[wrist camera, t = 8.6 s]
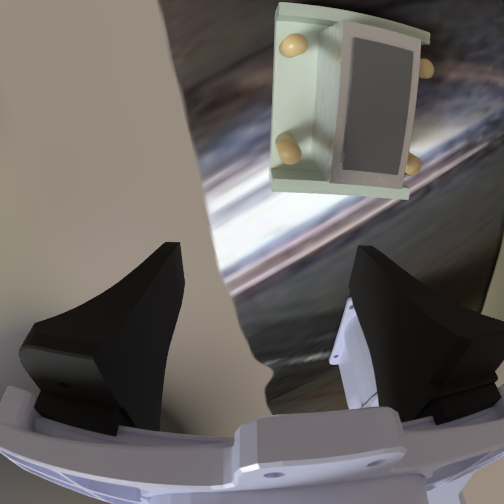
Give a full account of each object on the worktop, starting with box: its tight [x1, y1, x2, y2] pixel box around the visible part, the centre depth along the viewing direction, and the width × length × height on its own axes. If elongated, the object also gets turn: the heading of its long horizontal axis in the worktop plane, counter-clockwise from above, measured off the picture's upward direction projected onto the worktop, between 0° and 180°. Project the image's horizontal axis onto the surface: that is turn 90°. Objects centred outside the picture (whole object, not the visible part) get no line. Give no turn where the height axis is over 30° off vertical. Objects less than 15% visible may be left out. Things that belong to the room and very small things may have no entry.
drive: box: [310, 20, 421, 189], centre depth 14 cm, size 8×4×5 cm, turn 178°
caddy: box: [269, 2, 434, 200], centre depth 16 cm, size 11×9×4 cm
